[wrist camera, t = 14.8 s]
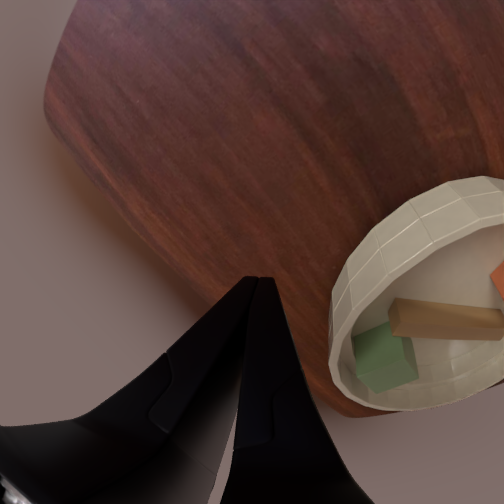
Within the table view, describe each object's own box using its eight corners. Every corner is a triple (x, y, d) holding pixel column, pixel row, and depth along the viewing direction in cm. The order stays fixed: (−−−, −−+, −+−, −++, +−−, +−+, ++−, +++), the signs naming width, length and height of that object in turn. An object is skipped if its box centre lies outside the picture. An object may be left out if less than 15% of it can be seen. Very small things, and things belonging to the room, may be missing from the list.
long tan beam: (492, 321, 19) (500, 340, 17) (387, 311, 20) (391, 336, 18) (500, 309, 18) (509, 328, 16) (394, 296, 19) (400, 321, 17)
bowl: (401, 388, 27) (405, 425, 23) (271, 295, 22) (261, 349, 18) (552, 293, 16) (571, 327, 12) (502, 109, 10) (553, 132, 6)
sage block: (373, 356, 23) (375, 394, 20) (353, 336, 22) (356, 377, 19) (412, 340, 21) (419, 378, 18) (396, 316, 20) (405, 358, 17)
